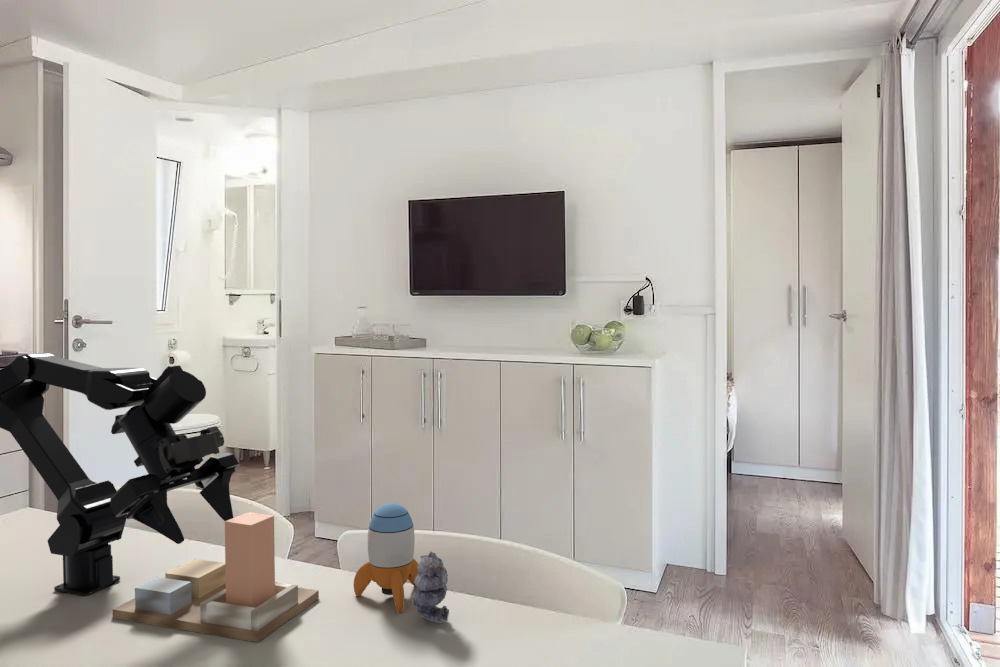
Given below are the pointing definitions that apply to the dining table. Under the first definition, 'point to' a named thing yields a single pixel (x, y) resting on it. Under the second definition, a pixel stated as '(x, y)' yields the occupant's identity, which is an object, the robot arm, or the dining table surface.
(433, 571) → the seashell
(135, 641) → the dining table surface
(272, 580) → the post
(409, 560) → the toy rocket
